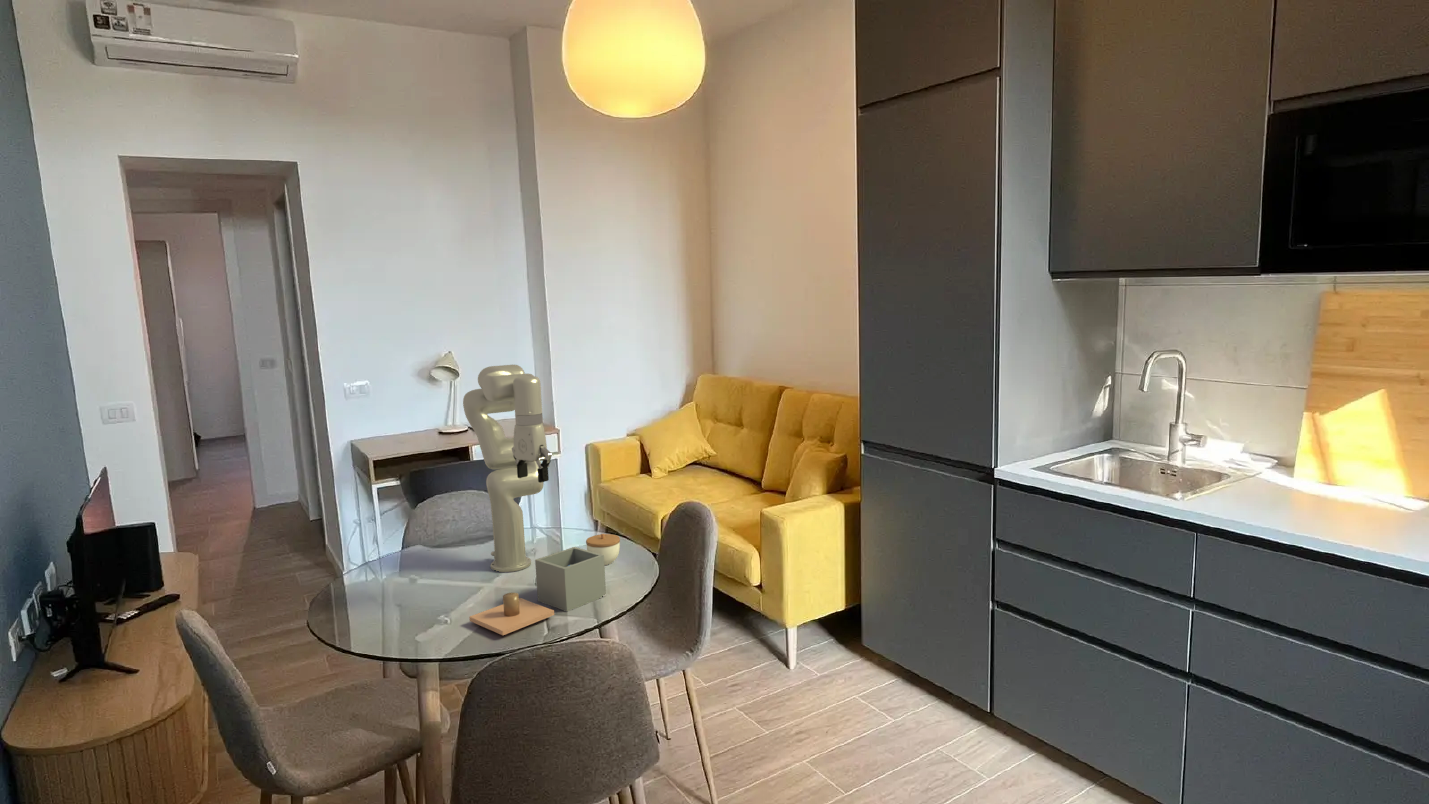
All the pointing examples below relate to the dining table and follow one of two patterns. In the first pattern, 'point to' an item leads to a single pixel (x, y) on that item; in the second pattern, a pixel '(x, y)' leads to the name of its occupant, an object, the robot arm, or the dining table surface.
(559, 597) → the storage box
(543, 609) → the lid
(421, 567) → the dining table surface
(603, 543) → the lidded jar
